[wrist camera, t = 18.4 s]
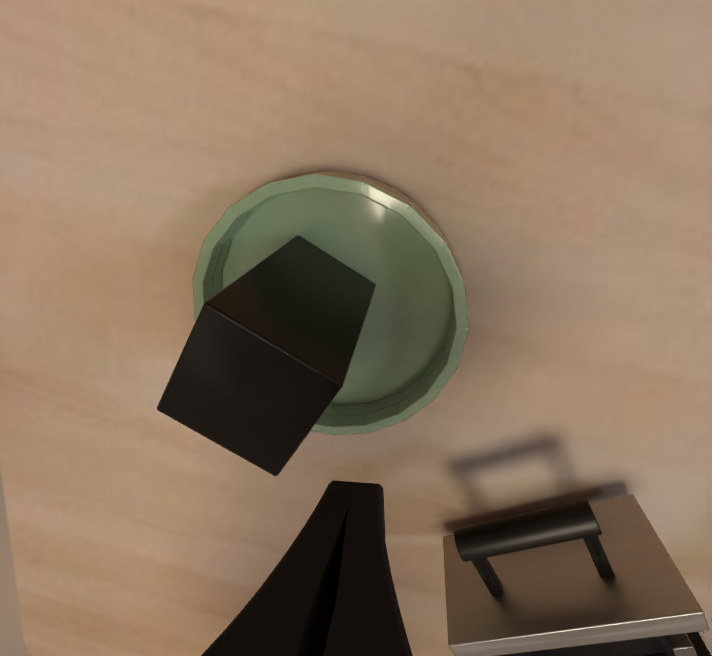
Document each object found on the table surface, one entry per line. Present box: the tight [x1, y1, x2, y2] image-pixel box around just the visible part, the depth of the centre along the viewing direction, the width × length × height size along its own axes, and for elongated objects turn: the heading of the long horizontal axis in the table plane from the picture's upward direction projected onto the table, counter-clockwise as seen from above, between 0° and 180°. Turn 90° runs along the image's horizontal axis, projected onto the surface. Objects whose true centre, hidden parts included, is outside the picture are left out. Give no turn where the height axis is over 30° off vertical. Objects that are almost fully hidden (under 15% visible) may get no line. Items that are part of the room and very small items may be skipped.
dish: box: [193, 171, 468, 435], centre depth 18 cm, size 12×12×2 cm
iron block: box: [157, 235, 376, 476], centre depth 15 cm, size 4×4×8 cm
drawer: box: [443, 494, 709, 656], centre depth 21 cm, size 17×10×6 cm, turn 29°
